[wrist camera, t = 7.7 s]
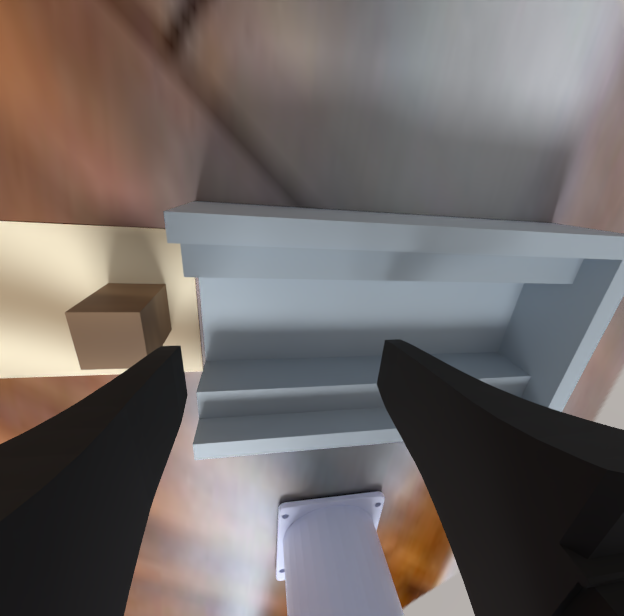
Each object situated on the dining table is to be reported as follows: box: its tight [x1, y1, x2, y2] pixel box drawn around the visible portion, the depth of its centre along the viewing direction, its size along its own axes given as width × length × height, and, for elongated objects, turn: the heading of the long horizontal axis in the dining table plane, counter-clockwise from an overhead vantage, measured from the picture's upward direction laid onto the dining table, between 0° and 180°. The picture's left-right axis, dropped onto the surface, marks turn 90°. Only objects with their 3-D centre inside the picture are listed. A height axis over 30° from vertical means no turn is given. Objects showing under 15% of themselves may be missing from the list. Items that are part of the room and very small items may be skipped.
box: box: [163, 201, 624, 460], centre depth 14 cm, size 10×18×4 cm, turn 86°
